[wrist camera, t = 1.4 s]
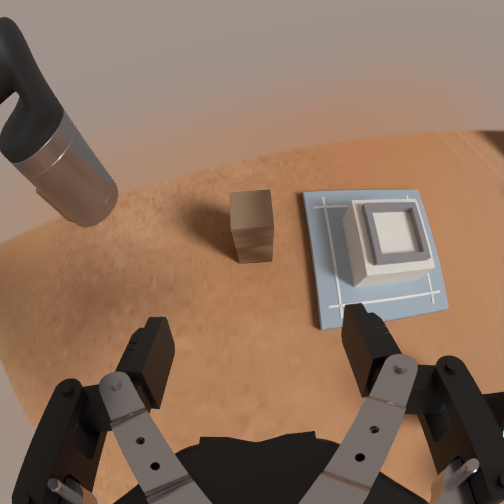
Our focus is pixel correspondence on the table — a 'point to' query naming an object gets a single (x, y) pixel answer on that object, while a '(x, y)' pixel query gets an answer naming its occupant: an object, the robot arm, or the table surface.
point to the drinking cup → (496, 407)
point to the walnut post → (252, 225)
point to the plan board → (373, 254)
